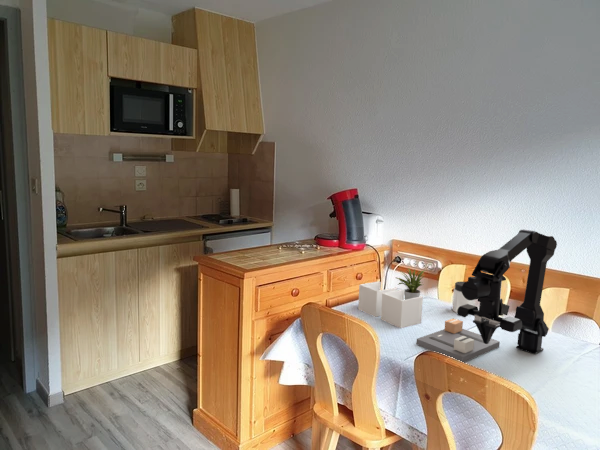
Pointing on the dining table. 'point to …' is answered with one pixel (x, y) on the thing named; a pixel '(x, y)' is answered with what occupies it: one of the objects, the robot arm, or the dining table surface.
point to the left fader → (464, 344)
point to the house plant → (411, 285)
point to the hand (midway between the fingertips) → (486, 343)
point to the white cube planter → (390, 305)
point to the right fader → (453, 325)
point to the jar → (460, 297)
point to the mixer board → (445, 344)
